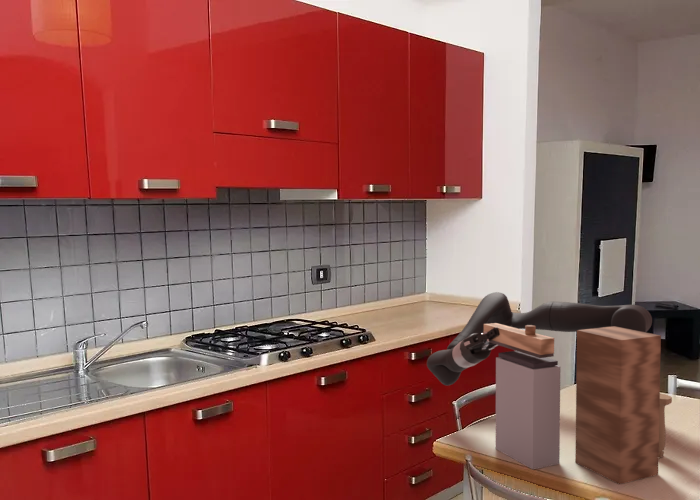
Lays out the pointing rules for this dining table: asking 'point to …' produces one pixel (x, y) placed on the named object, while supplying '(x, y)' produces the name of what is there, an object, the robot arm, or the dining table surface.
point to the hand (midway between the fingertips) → (504, 330)
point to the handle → (662, 421)
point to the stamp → (523, 340)
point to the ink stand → (528, 408)
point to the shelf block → (618, 402)
